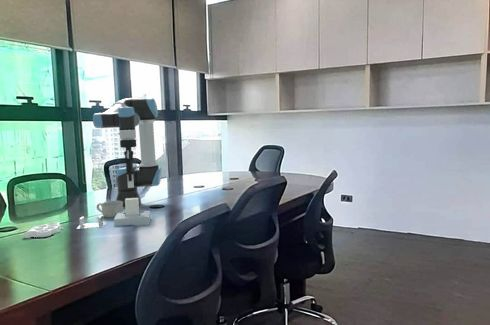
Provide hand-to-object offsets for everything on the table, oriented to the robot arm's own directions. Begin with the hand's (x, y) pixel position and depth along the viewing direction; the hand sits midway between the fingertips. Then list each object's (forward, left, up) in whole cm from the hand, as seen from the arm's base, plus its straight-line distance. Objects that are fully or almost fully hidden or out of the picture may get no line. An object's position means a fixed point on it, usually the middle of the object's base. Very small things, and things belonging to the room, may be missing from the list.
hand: (130, 187), depth 194 cm
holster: (+2, -19, -18) cm, 26 cm away
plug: (0, 0, -18) cm, 18 cm away
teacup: (-17, -13, -18) cm, 28 cm away
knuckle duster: (+8, -38, -18) cm, 43 cm away
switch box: (0, 0, -18) cm, 18 cm away
